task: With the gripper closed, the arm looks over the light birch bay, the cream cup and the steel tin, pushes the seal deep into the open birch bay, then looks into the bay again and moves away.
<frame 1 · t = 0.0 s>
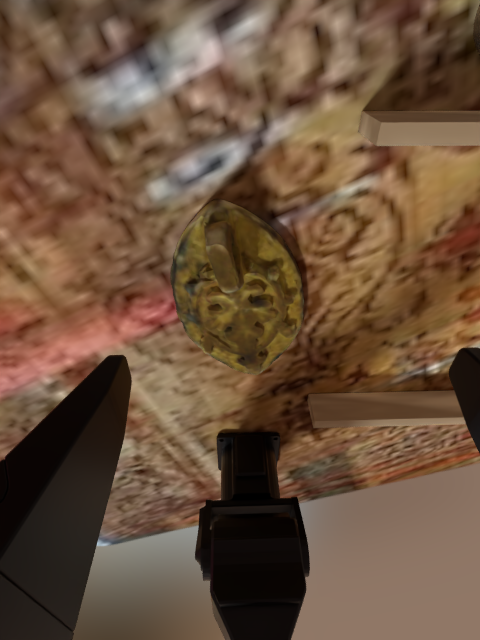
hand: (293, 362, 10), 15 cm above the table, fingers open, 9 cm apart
birch bay: (427, 295, 27), on the table
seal: (238, 293, 27), on the table
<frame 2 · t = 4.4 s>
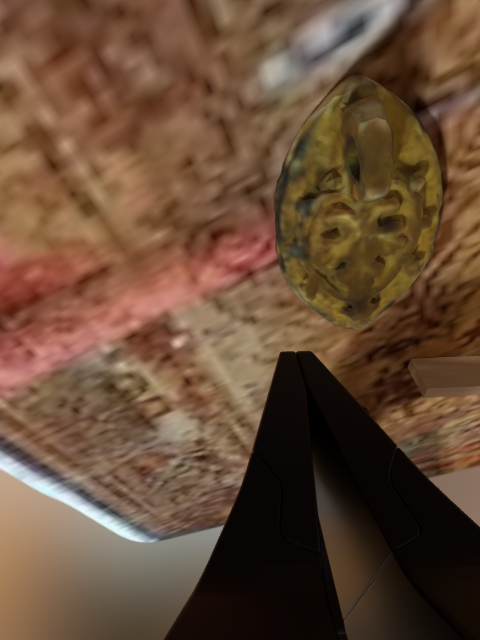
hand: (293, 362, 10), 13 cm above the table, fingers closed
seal: (351, 222, 21), on the table
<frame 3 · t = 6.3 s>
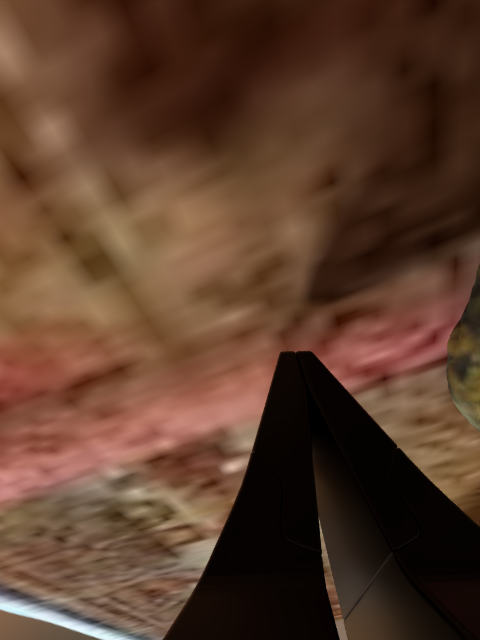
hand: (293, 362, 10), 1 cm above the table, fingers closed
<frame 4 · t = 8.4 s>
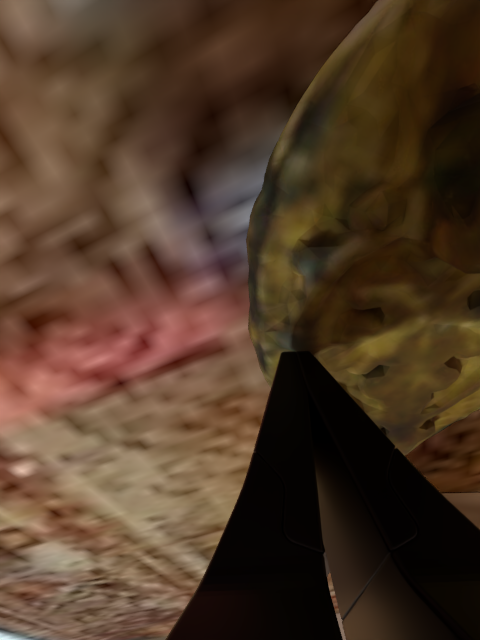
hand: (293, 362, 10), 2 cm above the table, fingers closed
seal: (397, 284, 11), on the table, touching gripper
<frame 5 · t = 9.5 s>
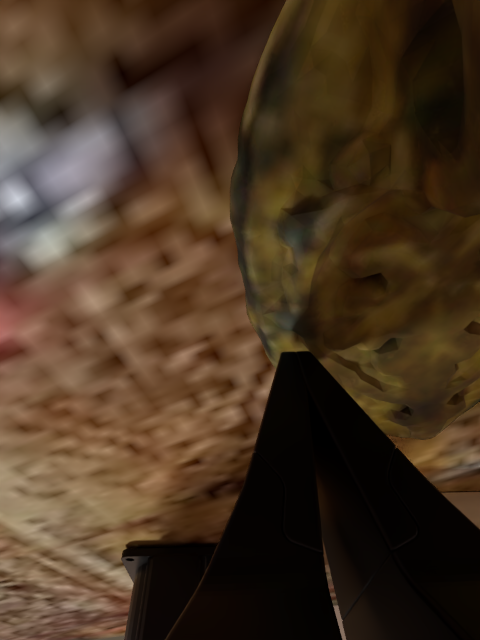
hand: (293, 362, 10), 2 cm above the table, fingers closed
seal: (403, 249, 10), on the table, touching gripper
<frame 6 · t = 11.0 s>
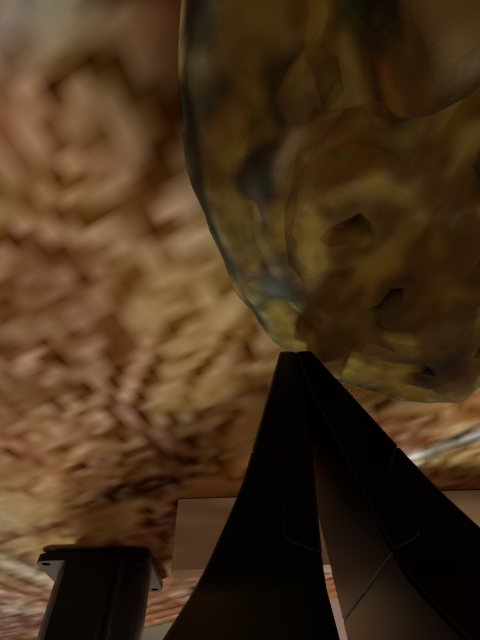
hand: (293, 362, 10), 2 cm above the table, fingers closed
birch bay: (386, 324, 11), on the table
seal: (395, 190, 9), on the table
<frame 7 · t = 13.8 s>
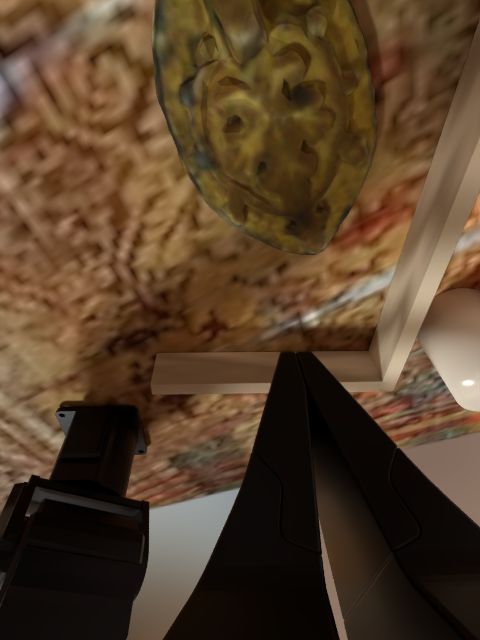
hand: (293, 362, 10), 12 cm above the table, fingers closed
birch bay: (272, 203, 19), on the table
cream cup: (449, 318, 25), on the table
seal: (267, 114, 17), on the table
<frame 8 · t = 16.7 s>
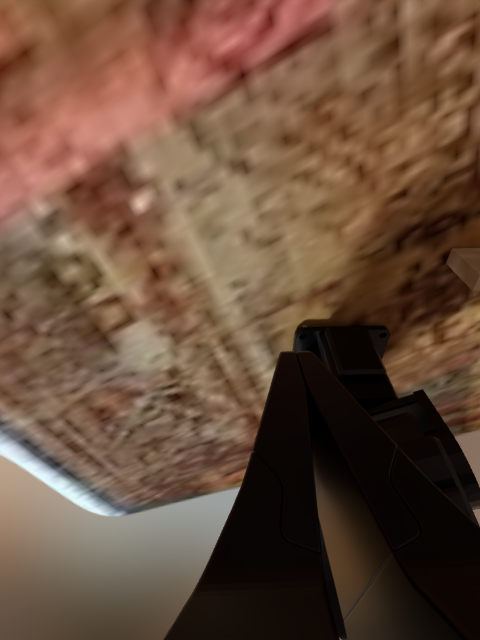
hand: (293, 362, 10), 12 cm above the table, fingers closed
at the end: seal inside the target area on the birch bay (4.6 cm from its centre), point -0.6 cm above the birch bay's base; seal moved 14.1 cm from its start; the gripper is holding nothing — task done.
